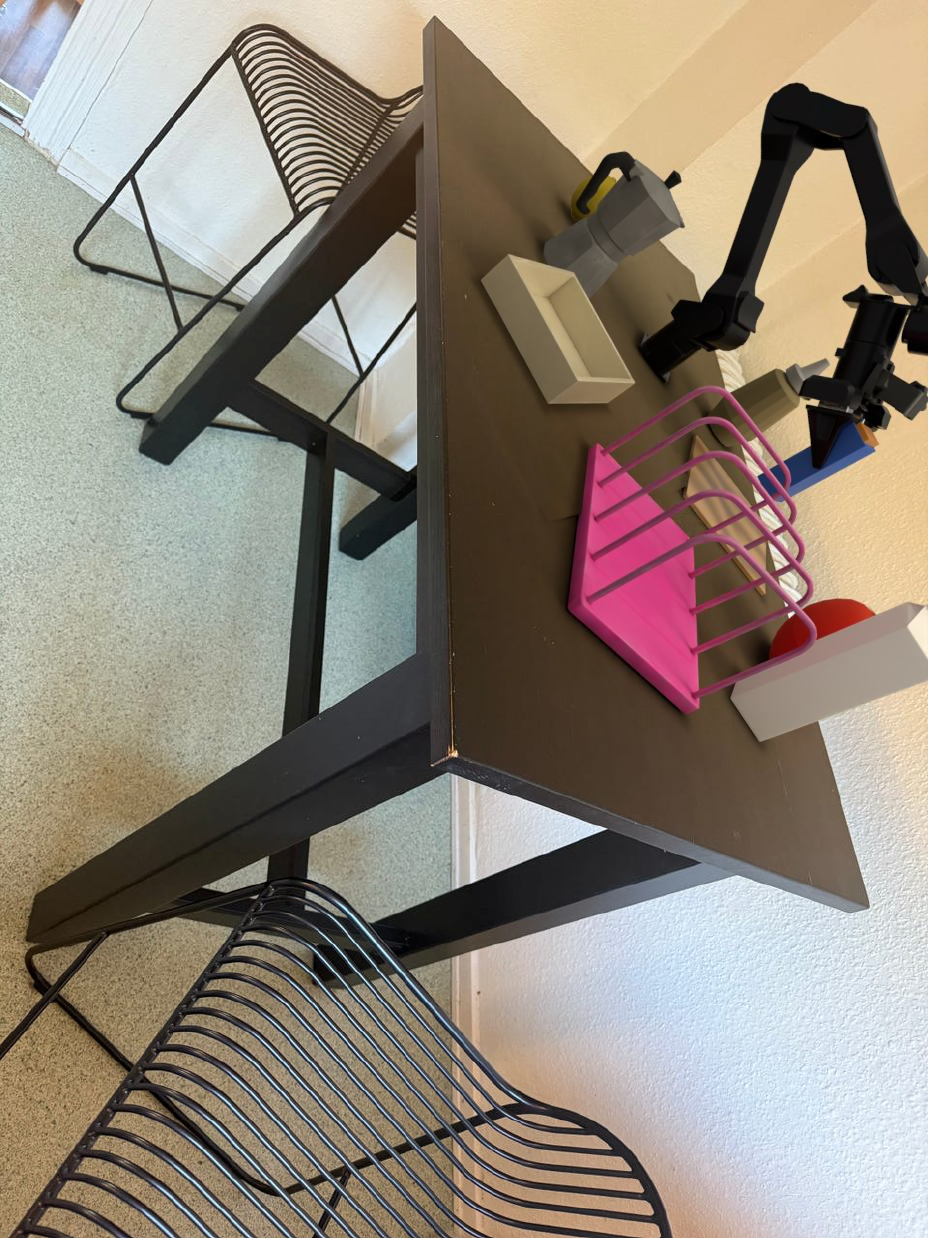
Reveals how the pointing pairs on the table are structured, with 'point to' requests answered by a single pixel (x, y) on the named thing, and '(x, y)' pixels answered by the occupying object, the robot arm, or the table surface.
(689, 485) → the square wooden board
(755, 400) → the squeeze bottle
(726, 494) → the file sorter
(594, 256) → the coffeepot
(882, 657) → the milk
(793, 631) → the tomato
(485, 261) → the table surface
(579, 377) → the basin
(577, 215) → the lemon
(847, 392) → the robot arm
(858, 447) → the orange-tipped blue bar
